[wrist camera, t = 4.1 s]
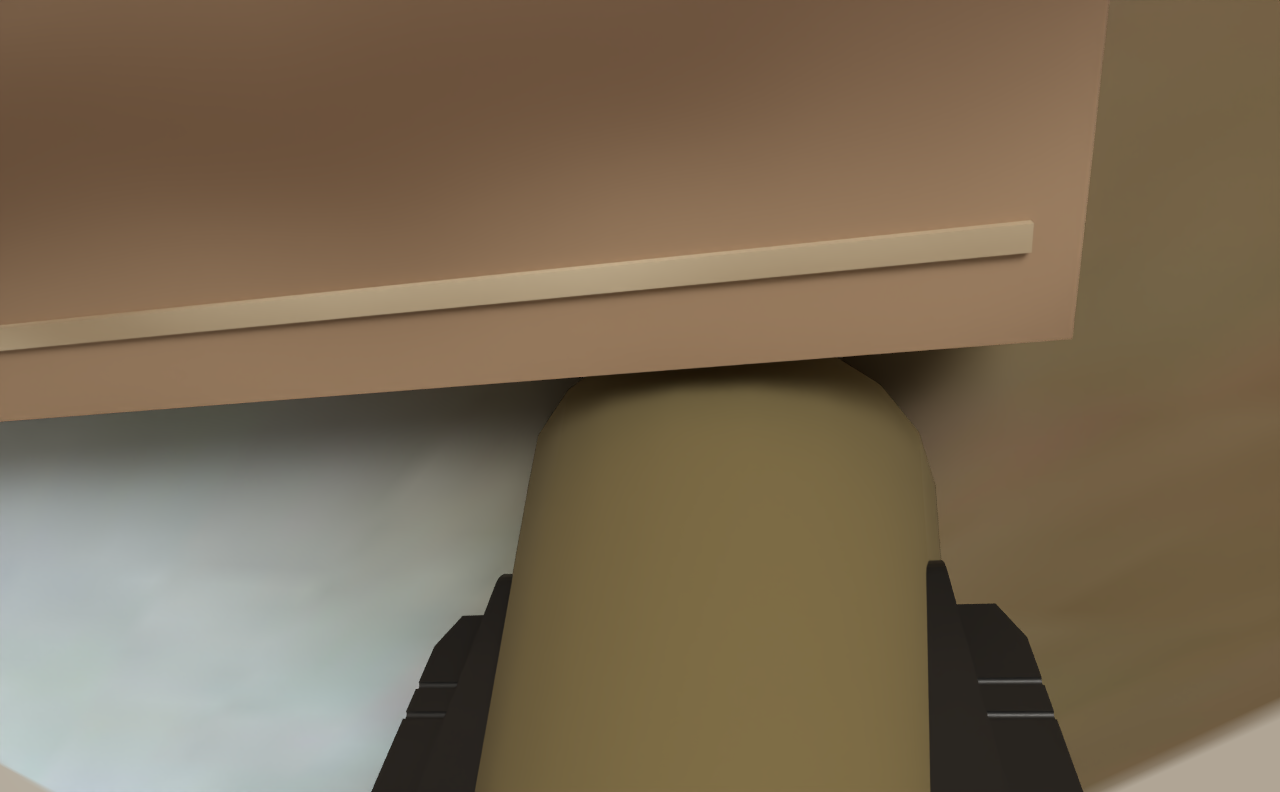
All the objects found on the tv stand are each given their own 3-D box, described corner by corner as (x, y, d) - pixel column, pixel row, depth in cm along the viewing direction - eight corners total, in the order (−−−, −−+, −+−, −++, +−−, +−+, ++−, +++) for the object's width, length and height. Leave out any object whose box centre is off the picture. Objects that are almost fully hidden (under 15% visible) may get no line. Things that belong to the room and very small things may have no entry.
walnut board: (-720, -150, 11) (-1094, -164, 9) (1070, -643, 7) (1213, -895, 5) (-300, 379, 15) (-486, 462, 13) (1010, 253, 11) (1075, 343, 9)
